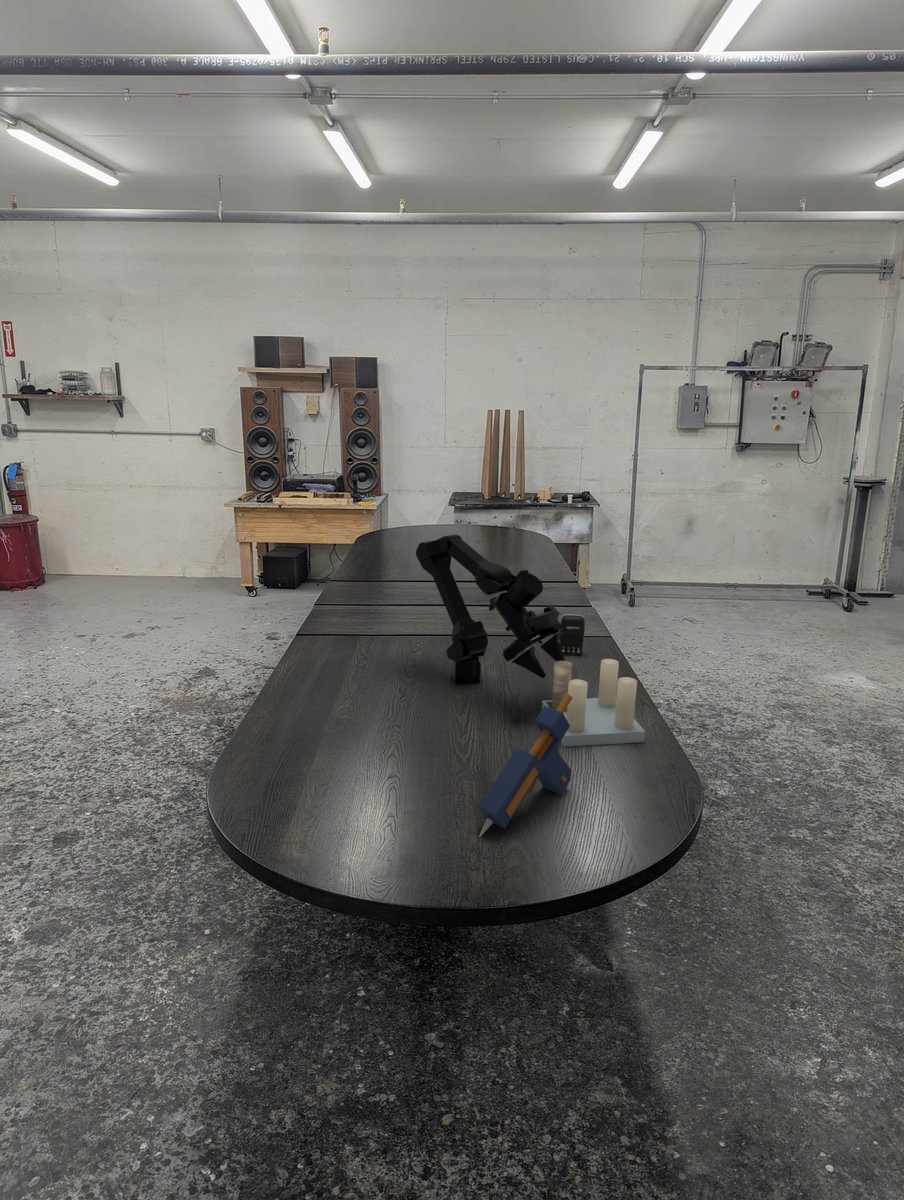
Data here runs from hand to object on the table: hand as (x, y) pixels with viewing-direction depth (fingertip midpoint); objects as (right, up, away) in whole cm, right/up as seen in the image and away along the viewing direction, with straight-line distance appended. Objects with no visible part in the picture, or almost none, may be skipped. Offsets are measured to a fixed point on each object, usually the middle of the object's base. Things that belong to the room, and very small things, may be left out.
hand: (554, 671), depth 169 cm
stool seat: (+8, -12, -3) cm, 15 cm away
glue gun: (-10, -22, -35) cm, 42 cm away
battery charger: (+10, +1, +41) cm, 42 cm away
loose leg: (+1, -11, +2) cm, 11 cm away
